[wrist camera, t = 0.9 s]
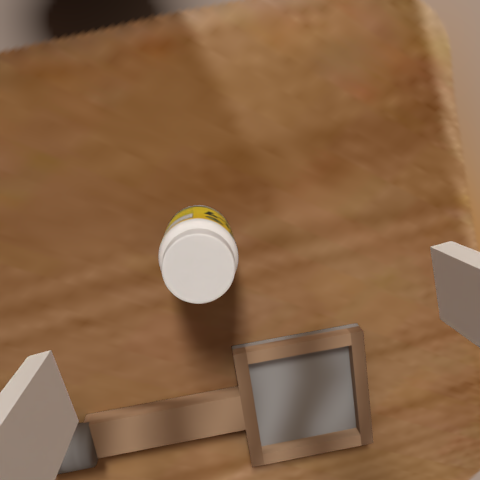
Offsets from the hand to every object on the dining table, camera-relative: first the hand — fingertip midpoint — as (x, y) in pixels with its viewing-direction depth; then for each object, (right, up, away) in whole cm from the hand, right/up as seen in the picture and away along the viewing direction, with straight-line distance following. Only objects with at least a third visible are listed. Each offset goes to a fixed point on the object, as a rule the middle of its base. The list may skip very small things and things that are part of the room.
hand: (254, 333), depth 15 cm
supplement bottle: (-3, +3, +17) cm, 18 cm away
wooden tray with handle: (-3, -10, +20) cm, 23 cm away
